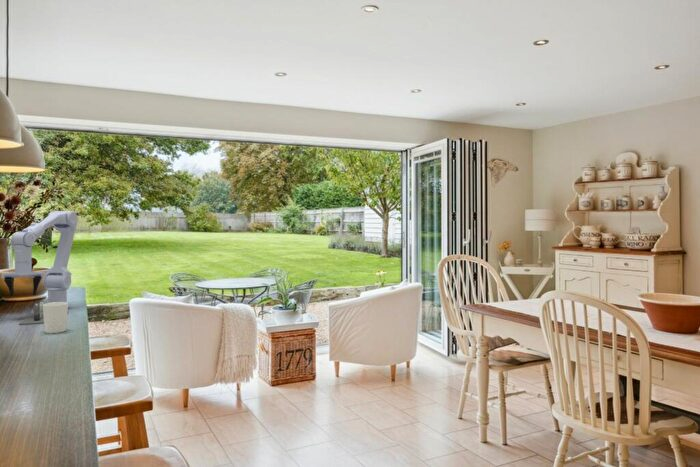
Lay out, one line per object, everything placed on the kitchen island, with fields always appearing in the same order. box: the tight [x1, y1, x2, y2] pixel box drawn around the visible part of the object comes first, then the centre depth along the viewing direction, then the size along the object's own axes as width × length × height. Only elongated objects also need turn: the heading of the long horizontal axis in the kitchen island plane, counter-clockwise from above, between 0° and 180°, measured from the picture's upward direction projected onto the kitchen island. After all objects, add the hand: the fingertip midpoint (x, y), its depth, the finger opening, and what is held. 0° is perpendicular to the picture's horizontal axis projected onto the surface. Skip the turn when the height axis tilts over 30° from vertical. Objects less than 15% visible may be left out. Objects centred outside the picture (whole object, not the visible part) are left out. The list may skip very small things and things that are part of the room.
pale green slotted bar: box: [39, 301, 46, 318], centre depth 205 cm, size 14×2×5 cm, turn 23°
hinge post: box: [33, 302, 40, 321], centre depth 197 cm, size 2×2×7 cm
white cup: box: [43, 301, 69, 334], centre depth 182 cm, size 8×8×10 cm
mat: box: [18, 312, 44, 326], centre depth 204 cm, size 22×14×1 cm, turn 23°
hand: (23, 295), depth 203 cm, fingers open, 7 cm apart
